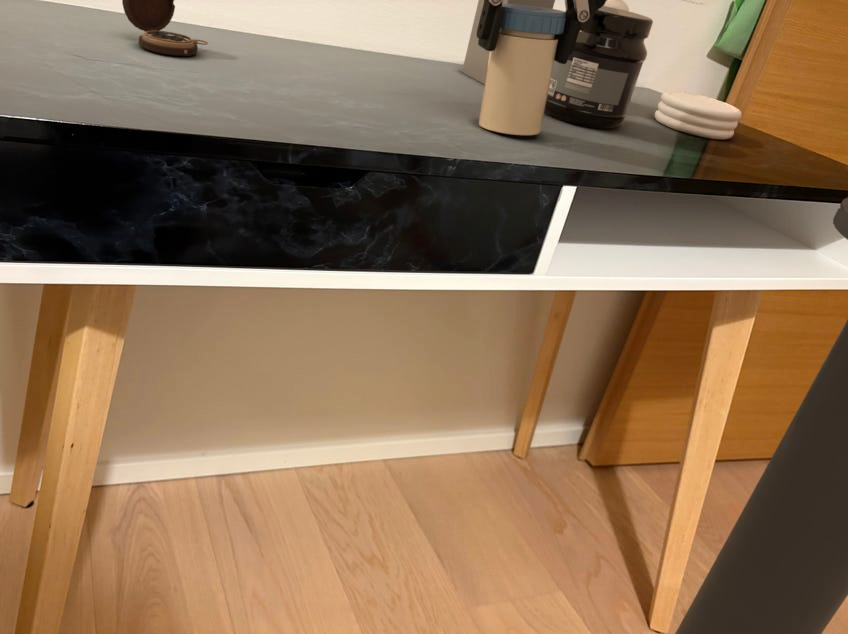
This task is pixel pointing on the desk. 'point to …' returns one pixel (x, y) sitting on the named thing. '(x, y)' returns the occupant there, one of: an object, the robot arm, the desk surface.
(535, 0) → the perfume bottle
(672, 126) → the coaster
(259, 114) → the desk surface
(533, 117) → the jar
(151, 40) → the compass
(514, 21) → the lid
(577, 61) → the supplement container
